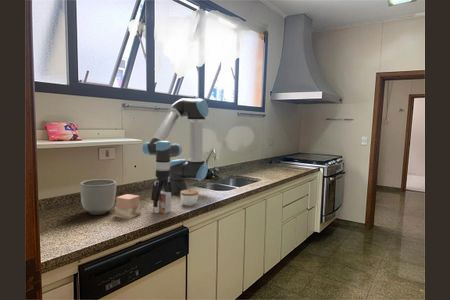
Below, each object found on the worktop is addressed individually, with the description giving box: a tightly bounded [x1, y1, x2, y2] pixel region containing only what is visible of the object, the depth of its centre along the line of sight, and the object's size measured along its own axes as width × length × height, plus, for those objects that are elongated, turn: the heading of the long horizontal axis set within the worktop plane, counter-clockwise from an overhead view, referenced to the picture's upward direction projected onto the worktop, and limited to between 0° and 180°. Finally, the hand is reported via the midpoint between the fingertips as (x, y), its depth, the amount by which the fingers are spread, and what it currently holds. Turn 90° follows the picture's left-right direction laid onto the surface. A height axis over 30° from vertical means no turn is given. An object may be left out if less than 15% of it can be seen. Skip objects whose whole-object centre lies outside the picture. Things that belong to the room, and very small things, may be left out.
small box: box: [152, 190, 172, 214], centre depth 153 cm, size 8×6×10 cm
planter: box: [79, 178, 117, 216], centre depth 147 cm, size 17×17×16 cm
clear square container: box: [114, 204, 142, 220], centre depth 145 cm, size 9×9×5 cm
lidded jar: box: [180, 188, 199, 207], centre depth 169 cm, size 11×11×9 cm
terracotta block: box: [115, 193, 140, 209], centre depth 145 cm, size 8×8×5 cm
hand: (161, 210), depth 154 cm, fingers open, 9 cm apart
